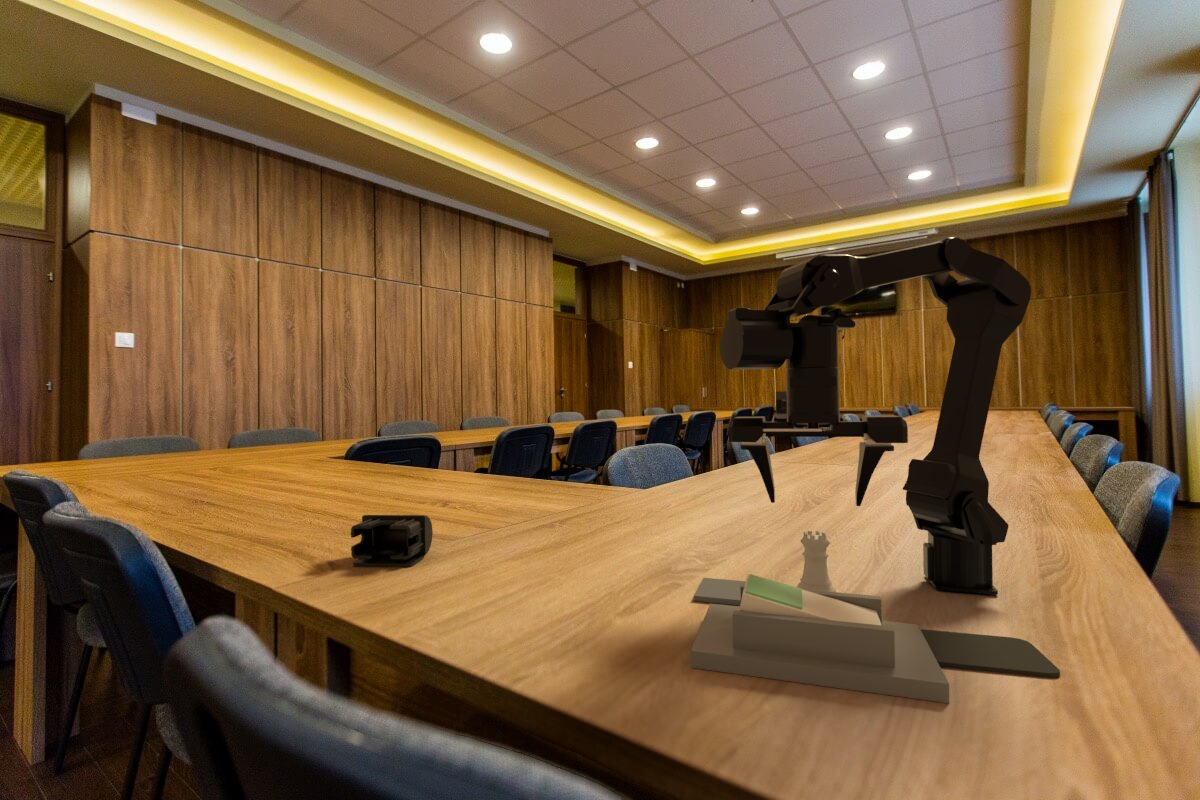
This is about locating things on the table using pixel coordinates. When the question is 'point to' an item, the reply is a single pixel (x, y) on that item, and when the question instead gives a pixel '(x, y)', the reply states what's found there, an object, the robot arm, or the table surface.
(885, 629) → the grey stand
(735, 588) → the rubber pad
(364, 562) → the end cap
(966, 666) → the phone
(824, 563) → the rook chess piece
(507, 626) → the table surface
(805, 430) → the robot arm
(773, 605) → the rocker
